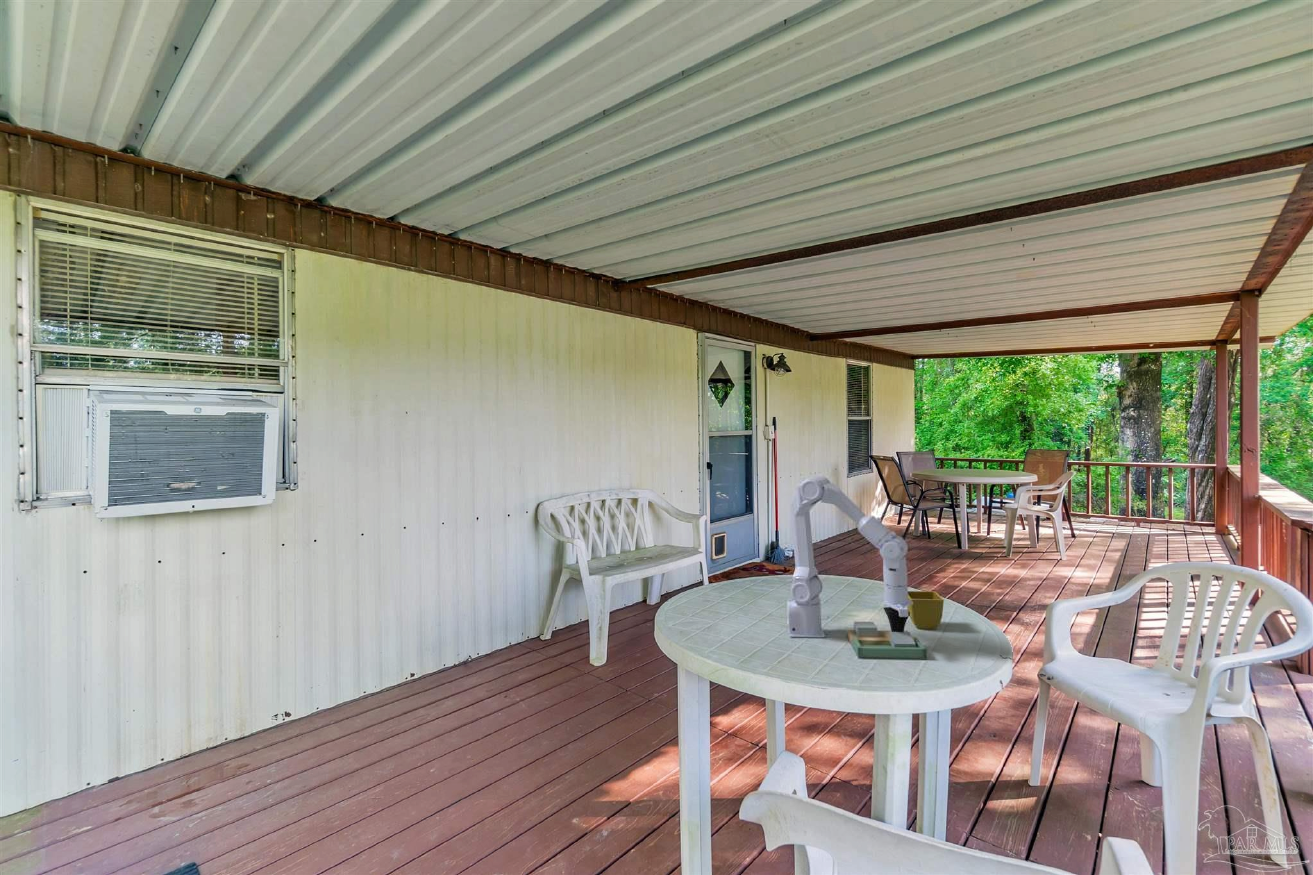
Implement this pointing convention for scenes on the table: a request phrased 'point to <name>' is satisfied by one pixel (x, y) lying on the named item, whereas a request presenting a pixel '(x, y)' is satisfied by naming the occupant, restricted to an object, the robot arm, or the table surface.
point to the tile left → (865, 629)
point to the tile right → (901, 639)
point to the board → (871, 638)
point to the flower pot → (925, 609)
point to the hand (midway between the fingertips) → (897, 636)
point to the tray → (889, 651)
